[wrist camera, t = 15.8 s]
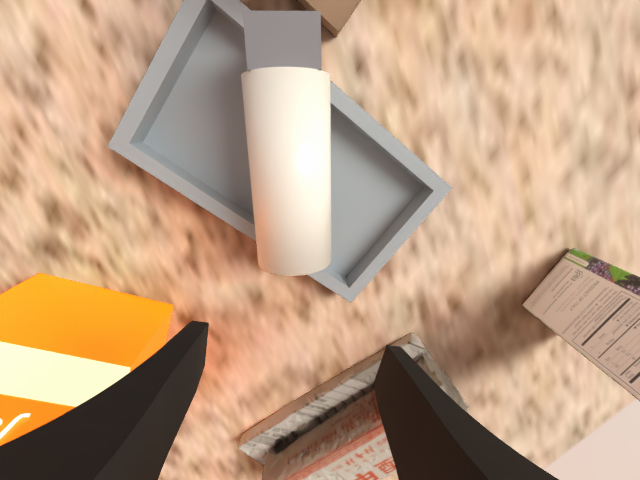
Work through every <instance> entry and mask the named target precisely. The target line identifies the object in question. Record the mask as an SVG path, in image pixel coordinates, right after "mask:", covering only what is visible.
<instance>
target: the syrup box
mask: <svg viewBox="0 0 640 480" xmlns="http://www.w3.org/2000/svg"><path fill="white" fill-rule="evenodd" d="M522 306H523V307H524V308H525V309H526V310H528V311H529V312H530V313H532V314H533V315H534V316H535V317H536V318H537V319H539V320H540V321H541V322H542V323H544V324H545V325H546V326H547V327H549V328H550V329H551V330H552V331H553V332H555V333H556V334H557V335H558V336H560V337H561V338H562V339H564V340H565V341H566V342H567V343H568V344H570V345H571V346H572V347H573V348H575V349H576V350H577V351H578V352H580V353H581V354H582V355H583V356H584V357H586V358H587V359H588V360H589V361H591V362H592V363H593V364H594V365H596V366H597V367H598V368H599V369H601V370H602V371H603V372H604V373H606V374H607V375H608V376H609V377H611V378H612V379H613V380H614V381H616V382H617V383H618V384H620V385H621V386H622V387H623V388H624V389H626V390H627V391H628V392H629V393H630V394H632V395H633V396H634V397H635V398H637V399H638V400H639V401H640V277H638V276H636V275H633V274H631V273H629V272H627V271H624V270H622V269H620V268H618V267H615V266H613V265H611V264H609V263H607V262H604V261H602V260H600V259H598V258H595V257H593V256H591V255H589V254H587V253H584V252H582V251H580V250H578V249H576V248H573V249H570V250H569V251H568V252H567V253H566V255H565V256H564V257H563V258H562V259H561V260H560V261H559V262H558V264H557V265H556V266H555V267H554V268H553V269H552V270H551V272H550V273H549V274H548V275H547V276H546V277H545V279H544V280H543V281H542V282H541V283H540V284H539V285H538V287H537V288H536V289H535V290H534V291H533V293H532V294H531V295H530V296H529V297H528V299H527V300H526V301H525V302H524V303H523V304H522Z"/></svg>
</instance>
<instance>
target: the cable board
mask: <svg viewBox="0 0 640 480" xmlns="http://www.w3.org/2000/svg"><path fill="white" fill-rule="evenodd" d="M297 1H298V2H299V3H300V4H301V5H302V6H304V7H305V8H306V9H307V10H308V11H321V23H322V24H323V25H324V26H325V27H326V28H327V29H328V30H329V31H330V32H331V33H332V34H333V35H334V36H336V37H337V35H338V34H339V32H340V31H341V29H342V28H343V26H344V25H345V23H346V22H347V20H348V19H349V17H350V16H351V14H352V13H353V11H354V10H355V8H356V7H357V5H358V4H359V2H360V1H361V0H297Z"/></svg>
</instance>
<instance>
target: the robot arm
mask: <svg viewBox="0 0 640 480" xmlns="http://www.w3.org/2000/svg"><path fill="white" fill-rule="evenodd" d="M208 325H209V323H206V322H198V321H191V322H190V323H188V324H187V325H186V326H185V327H184V328H183V329H182V330H181V331H180V332H179V333H178V334H176V335H175V336H174V337H173V338H172V339H171V340H170V341H169V342H167V343H166V344H165V345H164V346H163V347H161V348H160V349H159V350H158V351H157V352H155V353H154V354H153V355H152V356H151V357H149V358H148V359H147V360H145V361H144V362H143V363H141V364H140V365H139V366H137V367H136V368H135V369H133V370H132V371H131V372H129V373H128V374H127V375H125V376H124V377H122V378H121V379H120V380H118V381H117V382H115V383H114V384H112V385H111V386H109V387H108V388H106V389H105V390H103V391H102V392H100V393H98V394H97V395H95V396H94V397H92V398H90V399H89V400H87V401H85V402H84V403H82V404H80V405H78V406H77V407H75V408H73V409H71V410H70V411H68V412H66V413H64V414H63V415H61V416H59V417H57V418H55V419H53V420H52V421H50V422H48V423H46V424H44V425H42V426H40V427H38V428H36V429H34V430H32V431H30V432H28V433H26V434H24V435H22V436H20V437H18V438H16V439H14V440H11V441H9V442H7V443H5V444H3V445H1V446H0V480H158V478H159V475H160V472H161V469H162V467H163V464H164V462H165V459H166V457H167V455H168V452H169V450H170V448H171V446H172V444H173V441H174V439H175V437H176V435H177V433H178V430H179V428H180V426H181V424H182V422H183V419H184V417H185V415H186V413H187V411H188V408H189V406H190V404H191V402H192V399H193V397H194V395H195V393H196V390H197V387H198V384H199V381H200V378H201V375H202V372H203V369H204V366H205V357H206V346H207V336H208ZM374 388H375V395H376V400H377V406H378V410H379V414H380V417H381V420H382V424H383V427H384V431H385V434H386V437H387V440H388V444H389V447H390V450H391V454H392V457H393V460H394V463H395V467H396V470H397V474H398V478H399V480H558V479H557V478H555V477H554V476H552V475H551V474H549V473H547V472H546V471H544V470H543V469H541V468H540V467H538V466H537V465H535V464H534V463H532V462H531V461H529V460H528V459H526V458H525V457H523V456H522V455H521V454H519V453H518V452H516V451H515V450H514V449H512V448H511V447H510V446H508V445H507V444H505V443H504V442H503V441H501V440H500V439H499V438H497V437H496V436H495V435H494V434H492V433H491V432H490V431H488V430H487V429H486V428H485V427H484V426H482V425H481V424H480V423H479V422H478V421H476V420H475V419H474V418H473V417H471V416H470V415H469V414H468V413H467V412H466V411H465V410H464V409H462V408H461V407H460V406H459V405H458V404H457V403H456V402H455V401H454V400H453V399H452V398H451V397H450V396H448V395H447V394H446V393H445V392H444V391H443V390H442V389H441V388H440V387H439V386H438V385H437V384H436V383H435V382H434V381H433V380H432V379H431V378H430V376H429V375H428V374H427V373H426V372H425V371H424V370H423V369H422V368H421V367H420V366H419V365H418V364H417V363H416V362H415V361H414V360H413V359H412V358H411V357H410V356H409V355H408V354H407V352H406V351H405V350H403V349H402V348H401V347H399V346H391V345H386V348H385V351H384V354H383V357H382V360H381V363H380V366H379V369H378V371H377V374H376V377H375V380H374Z"/></svg>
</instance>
